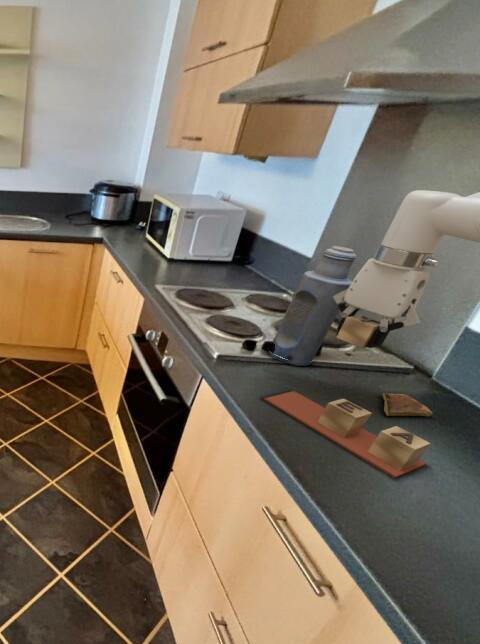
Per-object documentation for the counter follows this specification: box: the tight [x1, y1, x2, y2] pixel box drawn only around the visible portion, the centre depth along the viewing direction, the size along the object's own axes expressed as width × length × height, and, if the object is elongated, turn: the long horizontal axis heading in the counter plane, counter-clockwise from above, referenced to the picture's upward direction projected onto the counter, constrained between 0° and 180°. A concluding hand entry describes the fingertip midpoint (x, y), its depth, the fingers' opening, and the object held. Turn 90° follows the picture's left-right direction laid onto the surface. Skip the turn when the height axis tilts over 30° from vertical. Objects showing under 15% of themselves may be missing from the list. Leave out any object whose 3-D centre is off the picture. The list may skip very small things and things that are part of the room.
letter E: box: [318, 398, 373, 438], centre depth 82 cm, size 5×5×5 cm
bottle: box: [268, 245, 358, 367], centre depth 104 cm, size 10×10×30 cm
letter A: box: [368, 425, 431, 471], centre depth 75 cm, size 5×5×5 cm
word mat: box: [263, 390, 427, 479], centre depth 84 cm, size 24×10×1 cm, turn 22°
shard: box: [382, 392, 433, 418], centre depth 92 cm, size 11×8×2 cm
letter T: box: [336, 314, 381, 349], centre depth 88 cm, size 5×5×5 cm
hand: (356, 339), depth 89 cm, fingers closed on letter T, 5 cm apart
